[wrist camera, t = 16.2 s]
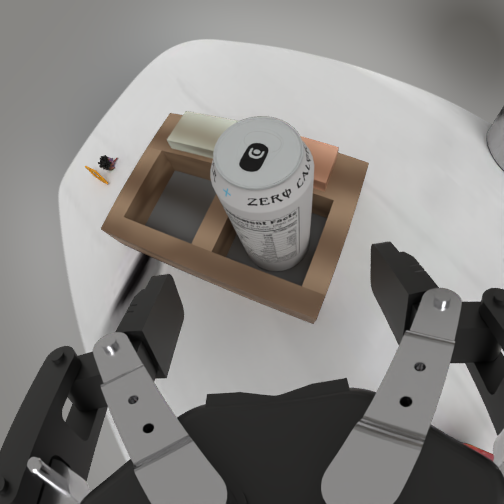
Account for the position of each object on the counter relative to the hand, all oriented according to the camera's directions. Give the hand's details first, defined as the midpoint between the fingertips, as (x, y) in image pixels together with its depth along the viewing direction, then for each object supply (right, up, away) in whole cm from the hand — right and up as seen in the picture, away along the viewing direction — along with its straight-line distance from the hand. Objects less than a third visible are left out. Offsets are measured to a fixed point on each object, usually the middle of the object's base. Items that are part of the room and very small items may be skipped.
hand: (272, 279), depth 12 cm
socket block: (-2, +5, +20) cm, 21 cm away
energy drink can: (+2, +2, +18) cm, 18 cm away
